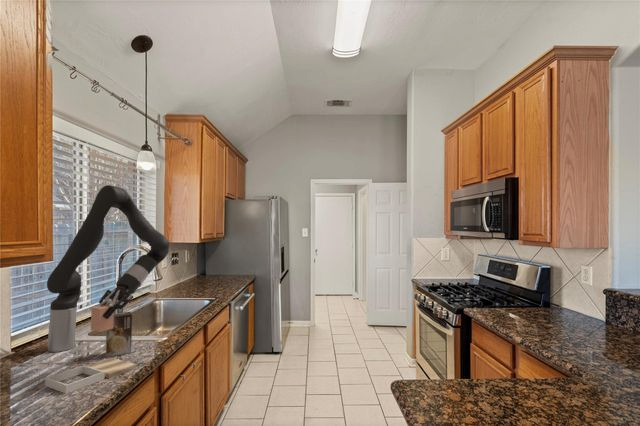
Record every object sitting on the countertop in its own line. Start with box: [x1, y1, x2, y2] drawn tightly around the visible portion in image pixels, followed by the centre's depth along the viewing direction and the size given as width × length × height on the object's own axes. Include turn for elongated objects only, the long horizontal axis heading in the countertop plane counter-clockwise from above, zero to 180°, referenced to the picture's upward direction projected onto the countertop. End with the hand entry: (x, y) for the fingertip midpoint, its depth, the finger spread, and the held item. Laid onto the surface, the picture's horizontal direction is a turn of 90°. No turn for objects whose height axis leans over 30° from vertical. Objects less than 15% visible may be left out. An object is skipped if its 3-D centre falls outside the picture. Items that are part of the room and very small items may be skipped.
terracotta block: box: [90, 305, 115, 333], centre depth 123 cm, size 5×5×8 cm
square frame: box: [44, 364, 106, 394], centre depth 114 cm, size 12×12×2 cm
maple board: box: [87, 357, 137, 379], centre depth 125 cm, size 14×10×2 cm
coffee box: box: [105, 311, 133, 358], centre depth 142 cm, size 9×6×16 cm
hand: (100, 316), depth 122 cm, fingers closed on terracotta block, 5 cm apart
